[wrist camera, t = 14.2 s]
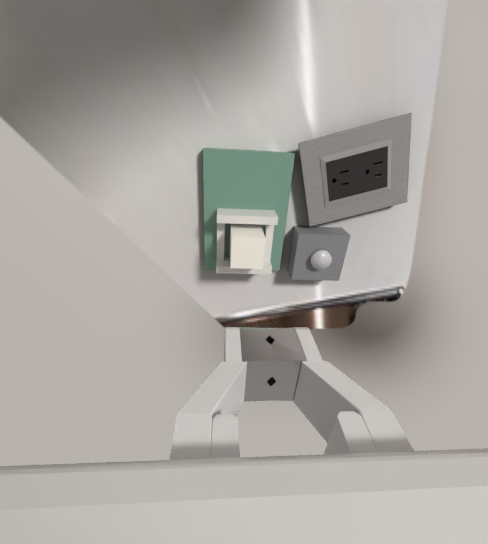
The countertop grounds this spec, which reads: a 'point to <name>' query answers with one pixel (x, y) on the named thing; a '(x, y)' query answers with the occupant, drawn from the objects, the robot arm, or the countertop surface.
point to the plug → (247, 246)
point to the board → (245, 202)
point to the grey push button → (317, 253)
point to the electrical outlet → (356, 170)
